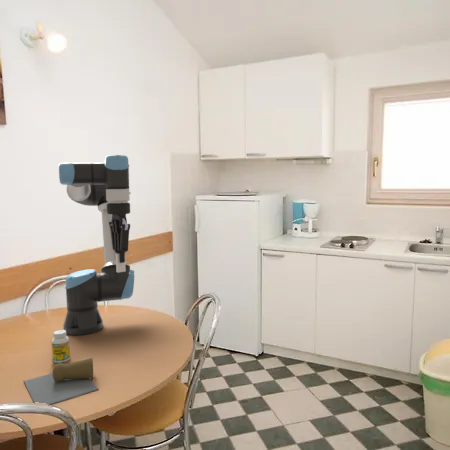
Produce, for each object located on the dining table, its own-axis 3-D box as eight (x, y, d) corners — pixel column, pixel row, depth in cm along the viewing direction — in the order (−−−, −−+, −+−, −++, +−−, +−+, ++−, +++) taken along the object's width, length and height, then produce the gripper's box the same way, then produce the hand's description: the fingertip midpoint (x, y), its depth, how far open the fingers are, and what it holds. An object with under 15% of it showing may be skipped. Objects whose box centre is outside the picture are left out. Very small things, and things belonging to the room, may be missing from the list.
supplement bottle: (71, 355, 137) (69, 328, 136) (68, 362, 132) (67, 334, 131) (54, 357, 136) (52, 329, 135) (51, 364, 131) (49, 335, 130)
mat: (23, 382, 119) (23, 381, 119) (78, 366, 128) (78, 365, 128) (37, 408, 104) (37, 407, 104) (98, 389, 114) (98, 388, 114)
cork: (91, 370, 117) (50, 375, 114) (93, 383, 120) (53, 388, 117) (91, 353, 122) (52, 358, 119) (93, 366, 125) (55, 371, 122)
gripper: (137, 202, 131) (139, 273, 133) (121, 201, 141) (123, 267, 144) (114, 203, 127) (117, 276, 129) (100, 201, 137) (103, 269, 139)
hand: (121, 271), depth 136 cm, fingers closed
